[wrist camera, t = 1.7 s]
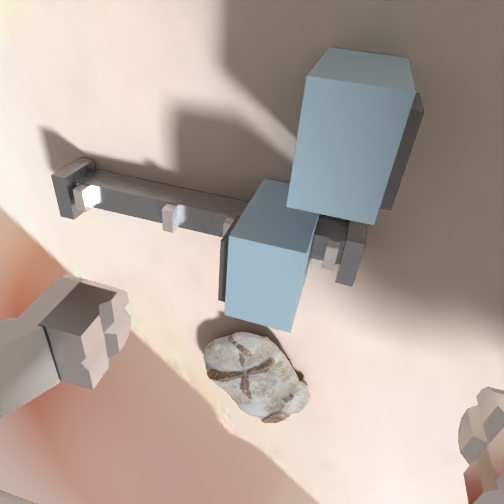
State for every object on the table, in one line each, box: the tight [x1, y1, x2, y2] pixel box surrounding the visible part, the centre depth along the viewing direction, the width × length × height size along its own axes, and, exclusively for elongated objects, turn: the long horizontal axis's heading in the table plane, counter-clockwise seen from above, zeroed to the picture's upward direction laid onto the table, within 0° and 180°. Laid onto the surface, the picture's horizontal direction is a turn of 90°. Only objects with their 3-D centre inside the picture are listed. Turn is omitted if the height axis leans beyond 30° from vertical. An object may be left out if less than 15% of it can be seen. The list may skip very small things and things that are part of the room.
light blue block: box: [286, 47, 424, 225], centre depth 21 cm, size 5×6×8 cm
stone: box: [204, 332, 310, 423], centre depth 40 cm, size 12×9×3 cm
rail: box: [51, 157, 367, 286], centre depth 30 cm, size 23×4×4 cm, turn 85°
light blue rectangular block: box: [218, 178, 320, 332], centre depth 27 cm, size 5×6×8 cm
